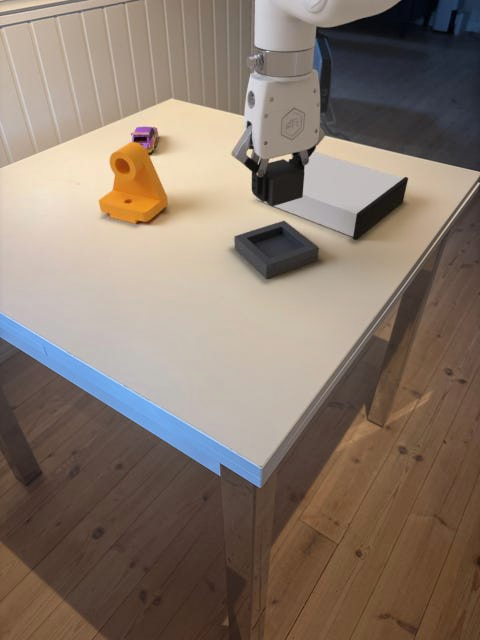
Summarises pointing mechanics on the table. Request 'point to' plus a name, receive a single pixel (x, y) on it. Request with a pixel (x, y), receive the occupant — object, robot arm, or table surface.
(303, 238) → the base pad
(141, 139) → the toy car
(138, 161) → the bracket
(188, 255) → the table surface
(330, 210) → the disc drive
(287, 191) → the black block
